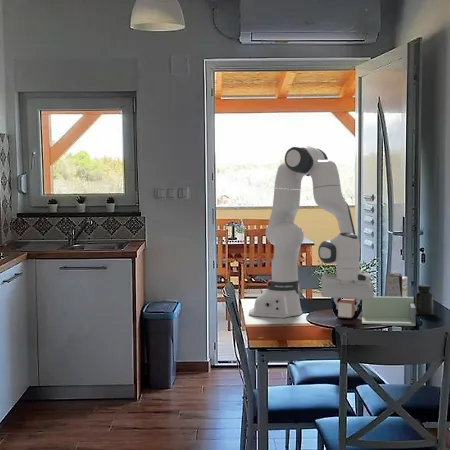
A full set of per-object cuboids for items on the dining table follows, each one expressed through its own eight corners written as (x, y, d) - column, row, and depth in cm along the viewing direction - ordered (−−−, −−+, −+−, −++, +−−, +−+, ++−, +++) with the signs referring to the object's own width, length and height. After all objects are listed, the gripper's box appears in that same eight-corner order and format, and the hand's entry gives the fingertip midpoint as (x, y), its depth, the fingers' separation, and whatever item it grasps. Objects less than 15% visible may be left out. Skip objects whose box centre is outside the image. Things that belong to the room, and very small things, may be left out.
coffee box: (402, 315, 279) (402, 276, 278) (386, 315, 280) (386, 276, 279) (401, 310, 288) (401, 273, 287) (385, 310, 289) (385, 273, 288)
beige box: (338, 317, 262) (338, 301, 262) (341, 313, 270) (341, 298, 270) (351, 318, 261) (351, 302, 260) (354, 314, 268) (354, 299, 268)
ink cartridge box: (400, 305, 299) (400, 272, 298) (390, 304, 302) (389, 271, 301) (408, 302, 306) (407, 269, 305) (397, 301, 309) (397, 269, 308)
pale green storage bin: (362, 324, 263) (361, 301, 263) (362, 318, 275) (362, 296, 274) (415, 325, 259) (415, 302, 259) (413, 319, 271) (413, 296, 270)
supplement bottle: (426, 312, 284) (426, 283, 283) (436, 315, 278) (436, 286, 277) (412, 313, 282) (412, 284, 281) (422, 316, 275) (422, 287, 274)
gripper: (319, 274, 265) (318, 309, 266) (372, 277, 258) (371, 313, 259) (322, 272, 271) (321, 306, 272) (374, 275, 264) (373, 310, 265)
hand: (346, 309), depth 266 cm, fingers closed on beige box, 5 cm apart
